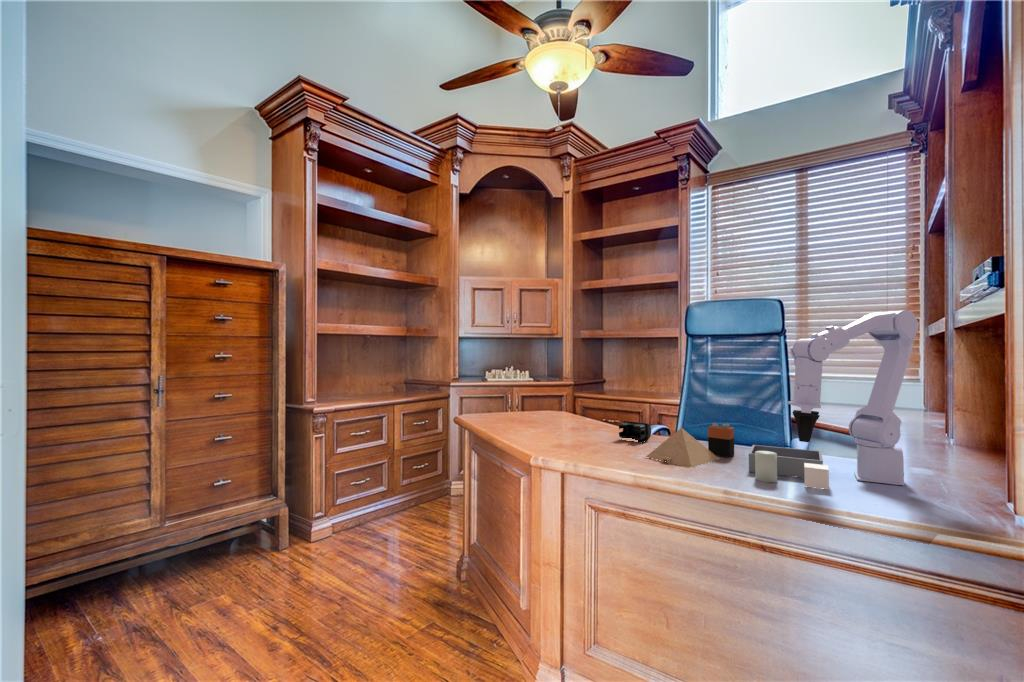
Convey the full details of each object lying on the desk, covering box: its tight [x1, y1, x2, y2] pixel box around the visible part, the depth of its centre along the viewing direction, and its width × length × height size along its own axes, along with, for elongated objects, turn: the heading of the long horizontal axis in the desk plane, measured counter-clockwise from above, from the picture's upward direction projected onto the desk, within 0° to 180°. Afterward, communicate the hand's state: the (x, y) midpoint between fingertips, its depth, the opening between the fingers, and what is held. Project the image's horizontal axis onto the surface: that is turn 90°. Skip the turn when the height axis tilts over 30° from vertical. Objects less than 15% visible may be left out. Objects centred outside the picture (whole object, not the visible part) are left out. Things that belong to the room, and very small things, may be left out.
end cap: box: [618, 420, 652, 443], centre depth 176 cm, size 10×7×7 cm
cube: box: [803, 463, 830, 490], centre depth 117 cm, size 5×5×5 cm
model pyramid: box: [645, 427, 720, 468], centre depth 147 cm, size 17×17×10 cm
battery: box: [707, 422, 735, 459], centre depth 151 cm, size 4×7×10 cm, turn 44°
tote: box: [748, 444, 824, 478], centre depth 132 cm, size 17×13×5 cm
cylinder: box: [754, 451, 778, 483], centre depth 123 cm, size 5×5×7 cm
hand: (804, 440), depth 119 cm, fingers open, 7 cm apart
